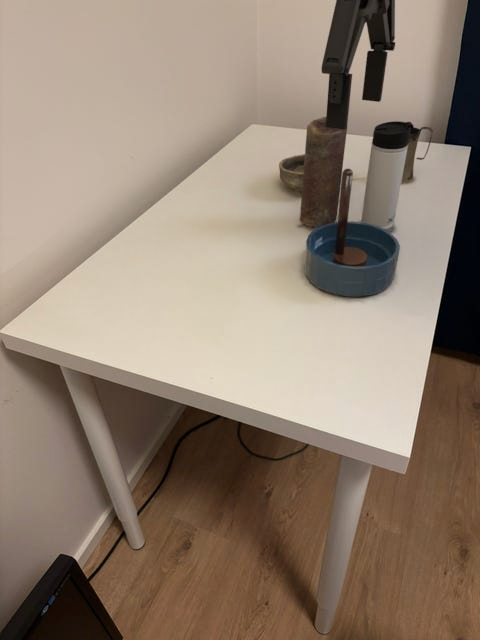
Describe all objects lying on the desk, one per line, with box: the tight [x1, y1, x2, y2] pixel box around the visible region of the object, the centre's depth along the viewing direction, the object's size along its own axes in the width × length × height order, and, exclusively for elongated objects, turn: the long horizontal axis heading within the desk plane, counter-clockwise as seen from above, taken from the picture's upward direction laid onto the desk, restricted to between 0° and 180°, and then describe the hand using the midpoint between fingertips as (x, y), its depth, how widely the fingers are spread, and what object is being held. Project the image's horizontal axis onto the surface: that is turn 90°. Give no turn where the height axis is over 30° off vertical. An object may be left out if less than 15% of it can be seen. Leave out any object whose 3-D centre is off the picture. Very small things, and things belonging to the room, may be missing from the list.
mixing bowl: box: [304, 220, 401, 298], centre depth 83 cm, size 15×15×6 cm
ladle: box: [333, 168, 367, 267], centre depth 79 cm, size 6×6×18 cm
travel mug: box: [360, 120, 414, 233], centre depth 90 cm, size 6×7×20 cm
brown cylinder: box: [299, 116, 348, 229], centre depth 92 cm, size 8×7×20 cm
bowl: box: [278, 153, 305, 192], centre depth 110 cm, size 14×18×10 cm
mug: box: [401, 126, 434, 184], centre depth 110 cm, size 8×6×12 cm
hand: (354, 113), depth 68 cm, fingers open, 13 cm apart
